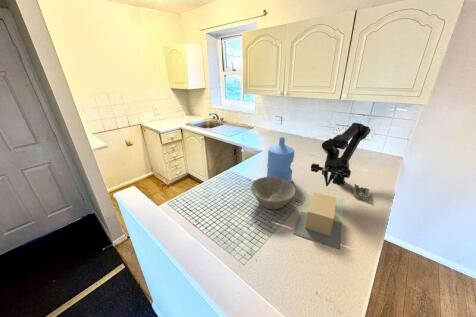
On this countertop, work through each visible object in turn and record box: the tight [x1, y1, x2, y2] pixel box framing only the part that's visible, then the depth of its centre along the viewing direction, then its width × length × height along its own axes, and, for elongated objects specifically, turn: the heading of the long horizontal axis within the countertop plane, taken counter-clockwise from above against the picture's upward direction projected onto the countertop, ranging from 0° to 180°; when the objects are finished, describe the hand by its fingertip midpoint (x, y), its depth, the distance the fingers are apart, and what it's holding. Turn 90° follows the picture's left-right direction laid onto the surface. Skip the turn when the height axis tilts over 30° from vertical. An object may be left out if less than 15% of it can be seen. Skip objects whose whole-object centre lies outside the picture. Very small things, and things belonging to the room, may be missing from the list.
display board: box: [292, 190, 344, 251], centre depth 93 cm, size 36×18×1 cm, turn 152°
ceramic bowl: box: [250, 176, 296, 210], centre depth 100 cm, size 22×23×10 cm
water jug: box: [266, 136, 295, 183], centre depth 119 cm, size 16×16×28 cm
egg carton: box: [352, 183, 370, 201], centre depth 107 cm, size 11×8×4 cm
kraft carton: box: [305, 192, 337, 236], centre depth 87 cm, size 16×10×9 cm, turn 152°
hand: (326, 186), depth 99 cm, fingers closed
